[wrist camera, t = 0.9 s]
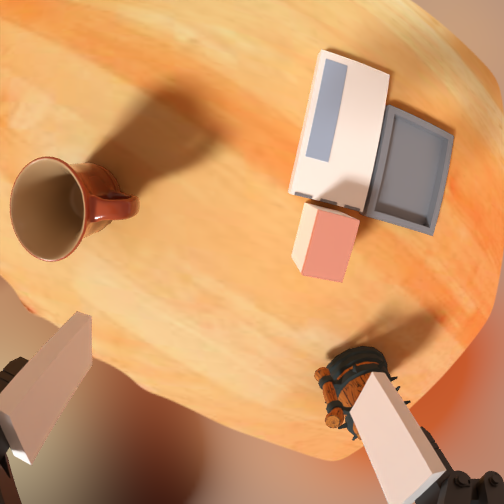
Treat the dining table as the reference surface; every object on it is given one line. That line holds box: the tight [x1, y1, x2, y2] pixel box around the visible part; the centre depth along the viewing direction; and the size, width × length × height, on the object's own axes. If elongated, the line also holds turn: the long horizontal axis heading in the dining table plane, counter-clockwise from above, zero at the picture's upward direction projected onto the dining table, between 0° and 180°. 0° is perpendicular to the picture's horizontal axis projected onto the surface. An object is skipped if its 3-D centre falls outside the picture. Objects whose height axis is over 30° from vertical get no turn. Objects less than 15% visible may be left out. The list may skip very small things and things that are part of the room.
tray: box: [360, 105, 454, 236], centre depth 30 cm, size 13×10×2 cm
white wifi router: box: [288, 50, 390, 212], centre depth 28 cm, size 16×8×2 cm, turn 168°
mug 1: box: [10, 157, 140, 262], centre depth 25 cm, size 12×9×10 cm
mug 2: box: [314, 346, 410, 441], centre depth 32 cm, size 13×10×12 cm
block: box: [291, 203, 360, 282], centre depth 29 cm, size 6×4×6 cm, turn 168°
